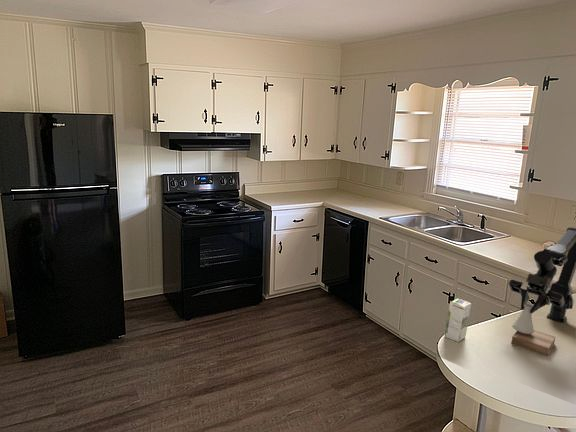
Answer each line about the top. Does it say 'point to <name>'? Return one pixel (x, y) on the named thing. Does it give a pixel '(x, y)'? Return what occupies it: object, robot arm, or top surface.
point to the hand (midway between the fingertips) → (526, 311)
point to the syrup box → (457, 320)
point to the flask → (525, 321)
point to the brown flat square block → (534, 341)
